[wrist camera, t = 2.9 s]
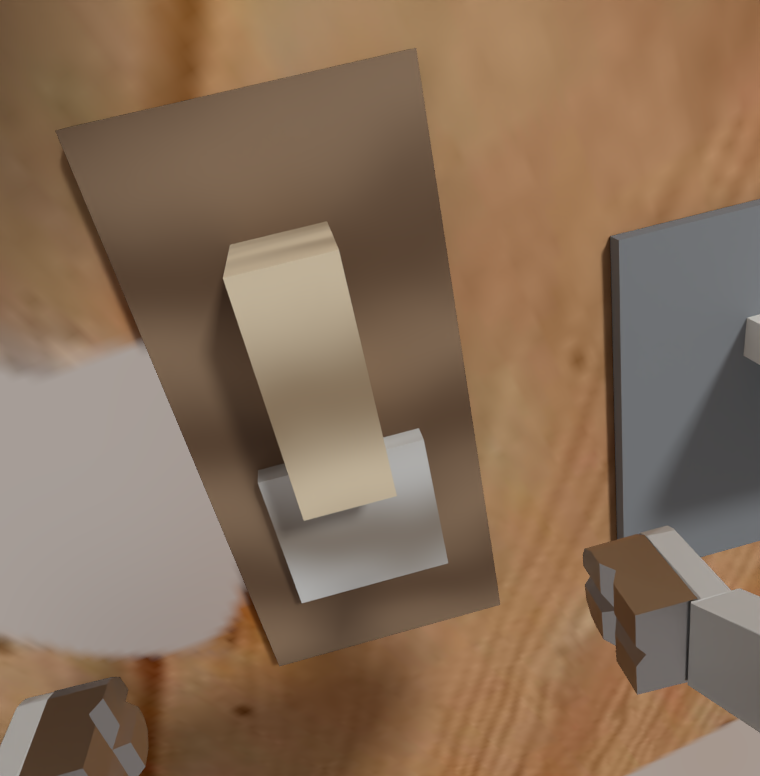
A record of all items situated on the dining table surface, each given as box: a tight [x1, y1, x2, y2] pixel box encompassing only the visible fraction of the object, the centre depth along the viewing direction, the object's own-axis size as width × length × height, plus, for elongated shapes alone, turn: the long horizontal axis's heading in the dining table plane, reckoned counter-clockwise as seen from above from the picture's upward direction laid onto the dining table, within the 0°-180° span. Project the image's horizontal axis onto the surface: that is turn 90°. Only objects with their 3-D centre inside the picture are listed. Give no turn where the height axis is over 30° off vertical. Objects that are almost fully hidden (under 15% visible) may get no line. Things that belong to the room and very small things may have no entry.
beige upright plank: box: [223, 221, 448, 603], centre depth 20 cm, size 14×6×4 cm, turn 11°
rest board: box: [56, 48, 500, 666], centre depth 22 cm, size 22×10×1 cm, turn 11°
